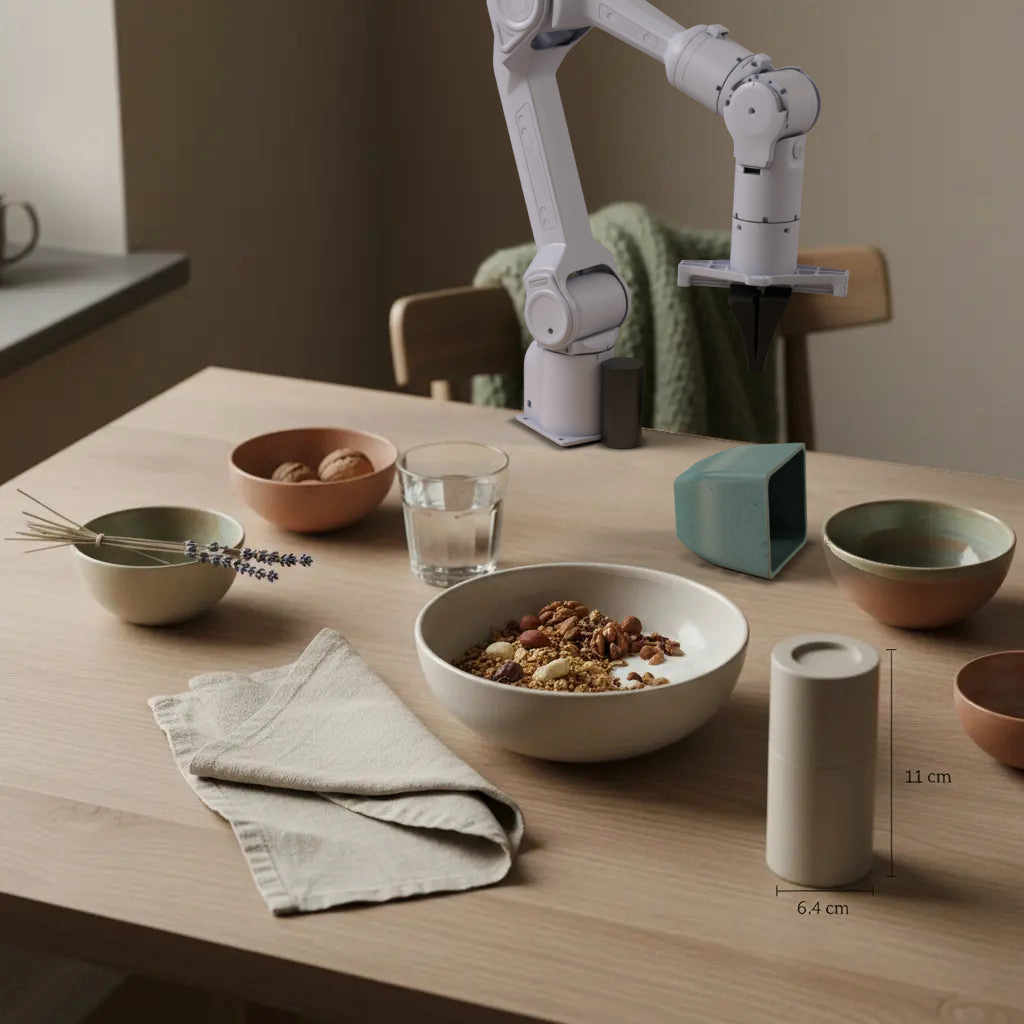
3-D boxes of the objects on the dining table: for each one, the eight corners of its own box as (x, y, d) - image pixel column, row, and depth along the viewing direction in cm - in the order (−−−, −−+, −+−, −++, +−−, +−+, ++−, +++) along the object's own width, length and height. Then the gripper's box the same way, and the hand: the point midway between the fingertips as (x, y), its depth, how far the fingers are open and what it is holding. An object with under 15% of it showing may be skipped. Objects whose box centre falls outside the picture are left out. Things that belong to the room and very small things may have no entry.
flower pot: (704, 431, 126) (807, 440, 122) (708, 529, 129) (809, 542, 125) (660, 464, 119) (767, 475, 115) (665, 567, 122) (769, 581, 118)
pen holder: (592, 439, 148) (593, 360, 145) (626, 432, 150) (628, 354, 147) (614, 451, 145) (616, 371, 142) (649, 444, 147) (652, 365, 143)
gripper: (673, 221, 127) (667, 375, 132) (849, 231, 124) (835, 389, 129) (688, 205, 133) (681, 353, 139) (855, 214, 130) (842, 365, 135)
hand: (756, 369), depth 134 cm, fingers closed
